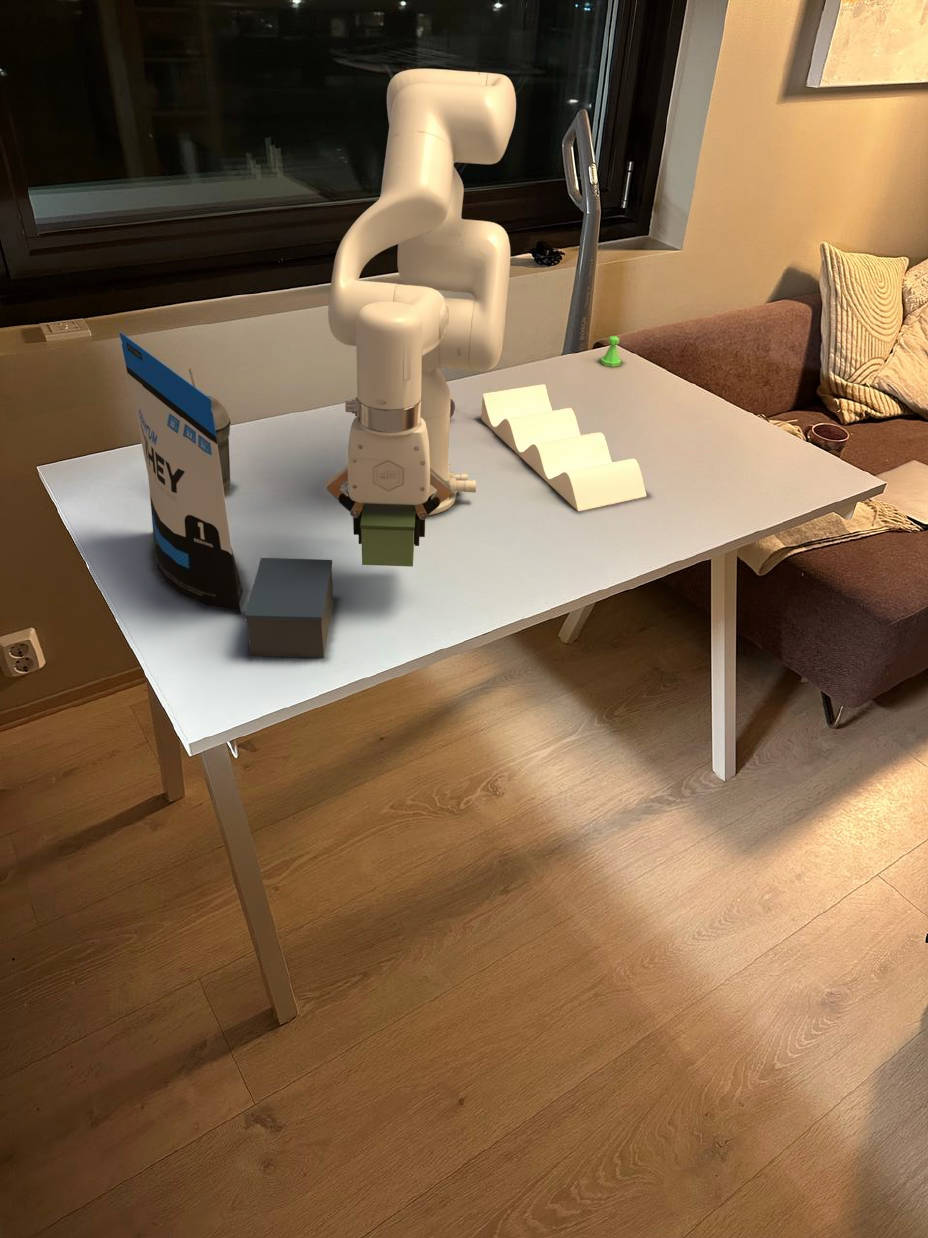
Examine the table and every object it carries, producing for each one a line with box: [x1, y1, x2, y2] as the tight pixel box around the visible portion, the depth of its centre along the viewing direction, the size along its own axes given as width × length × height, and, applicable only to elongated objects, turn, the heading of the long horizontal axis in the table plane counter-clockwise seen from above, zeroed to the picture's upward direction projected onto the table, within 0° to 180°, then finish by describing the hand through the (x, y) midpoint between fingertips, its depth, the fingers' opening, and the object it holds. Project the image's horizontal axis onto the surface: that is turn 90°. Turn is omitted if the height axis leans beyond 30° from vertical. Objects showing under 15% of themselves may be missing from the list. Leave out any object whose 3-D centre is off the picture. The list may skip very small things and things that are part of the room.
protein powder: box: [118, 331, 244, 615], centre depth 113 cm, size 10×24×30 cm, turn 40°
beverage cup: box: [188, 367, 231, 496], centre depth 133 cm, size 7×7×20 cm
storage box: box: [243, 557, 335, 659], centre depth 112 cm, size 12×9×6 cm
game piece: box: [600, 335, 622, 368], centre depth 187 cm, size 4×4×6 cm
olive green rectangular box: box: [360, 503, 415, 567], centre depth 114 cm, size 10×7×6 cm, turn 1°
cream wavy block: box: [480, 383, 647, 513], centre depth 153 cm, size 13×35×5 cm, turn 25°
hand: (389, 538), depth 116 cm, fingers closed on olive green rectangular box, 6 cm apart
